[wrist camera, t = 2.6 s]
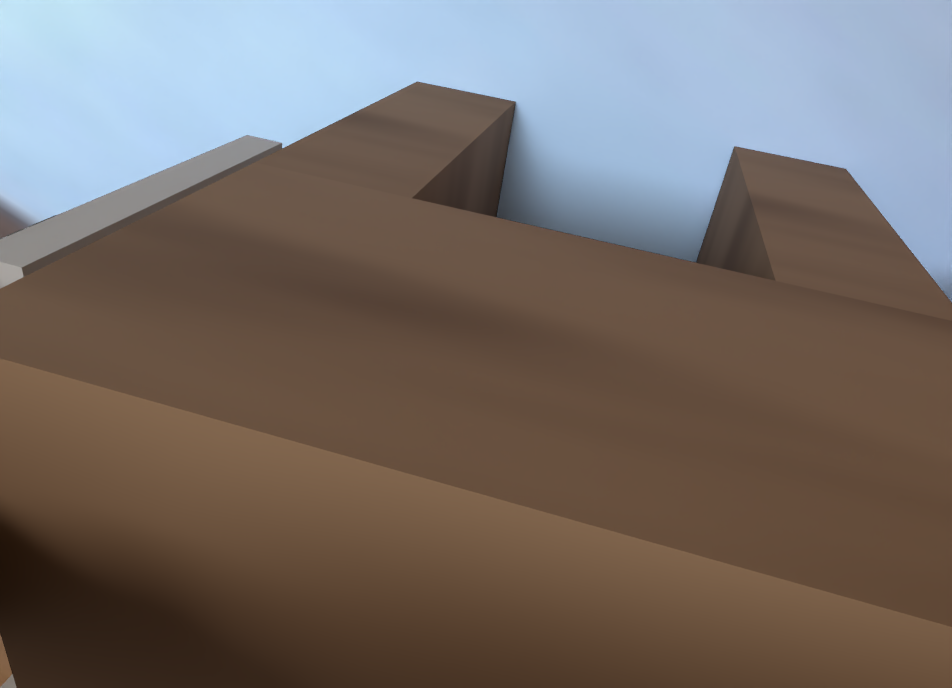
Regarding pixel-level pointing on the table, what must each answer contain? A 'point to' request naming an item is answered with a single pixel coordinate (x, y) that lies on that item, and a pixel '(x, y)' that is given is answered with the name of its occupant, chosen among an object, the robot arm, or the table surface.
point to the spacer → (476, 435)
